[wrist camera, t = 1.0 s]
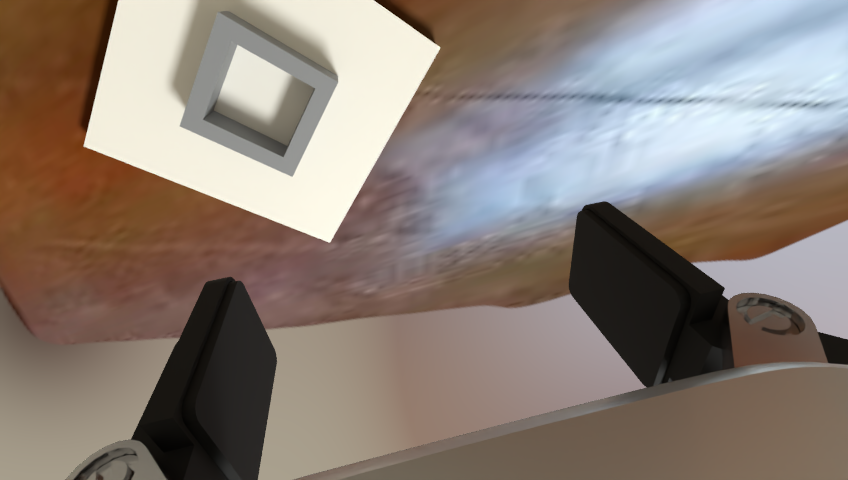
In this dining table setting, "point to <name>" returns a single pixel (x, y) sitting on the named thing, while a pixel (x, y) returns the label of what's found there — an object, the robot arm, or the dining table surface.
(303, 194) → the socket board
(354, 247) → the dining table surface
